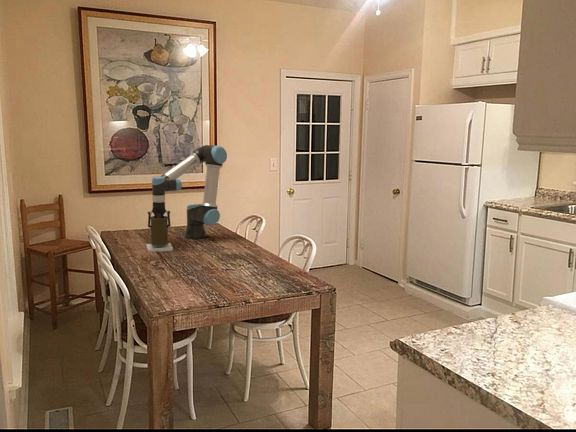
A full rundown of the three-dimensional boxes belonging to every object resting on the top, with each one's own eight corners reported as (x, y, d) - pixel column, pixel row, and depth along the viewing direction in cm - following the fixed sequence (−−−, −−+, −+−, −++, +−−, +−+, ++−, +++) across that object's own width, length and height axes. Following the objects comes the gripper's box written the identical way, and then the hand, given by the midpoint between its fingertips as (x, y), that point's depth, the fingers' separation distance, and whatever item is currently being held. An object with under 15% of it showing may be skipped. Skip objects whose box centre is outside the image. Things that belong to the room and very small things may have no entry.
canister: (165, 246, 302) (165, 214, 298) (148, 245, 302) (148, 214, 298) (170, 242, 312) (169, 211, 309) (154, 241, 312) (153, 211, 309)
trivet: (170, 245, 317) (170, 242, 317) (173, 250, 303) (172, 248, 303) (146, 246, 312) (146, 243, 312) (147, 252, 298) (147, 249, 298)
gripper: (173, 200, 309) (174, 236, 313) (142, 201, 303) (143, 237, 307) (175, 202, 302) (175, 238, 306) (142, 202, 296) (143, 240, 300)
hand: (159, 237), depth 306 cm, fingers open, 6 cm apart
